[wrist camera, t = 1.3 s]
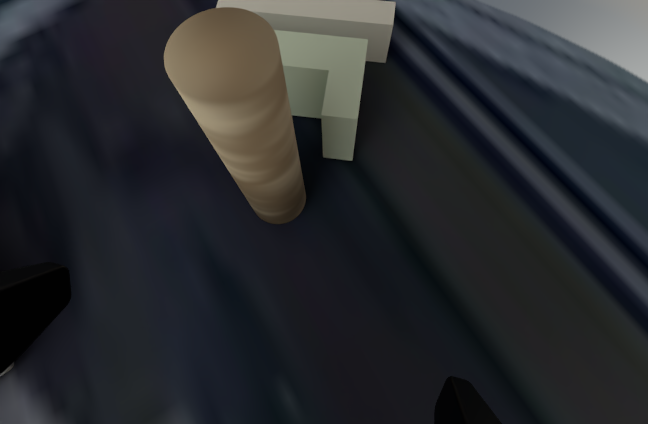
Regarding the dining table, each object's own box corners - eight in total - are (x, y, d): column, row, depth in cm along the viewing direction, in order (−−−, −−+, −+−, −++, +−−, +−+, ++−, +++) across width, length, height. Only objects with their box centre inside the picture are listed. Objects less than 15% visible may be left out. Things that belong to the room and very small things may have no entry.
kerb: (385, 63, 27) (393, 25, 23) (229, 46, 27) (216, 7, 24) (387, 41, 27) (395, 2, 24) (235, 26, 28) (222, -14, 25)
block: (352, 160, 24) (357, 119, 19) (222, 145, 25) (197, 101, 20) (361, 92, 26) (368, 39, 21) (240, 79, 26) (220, 24, 22)
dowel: (258, 230, 23) (173, 113, 10) (246, 181, 24) (156, 22, 12) (312, 215, 23) (292, 82, 11) (297, 166, 24) (263, -4, 12)
